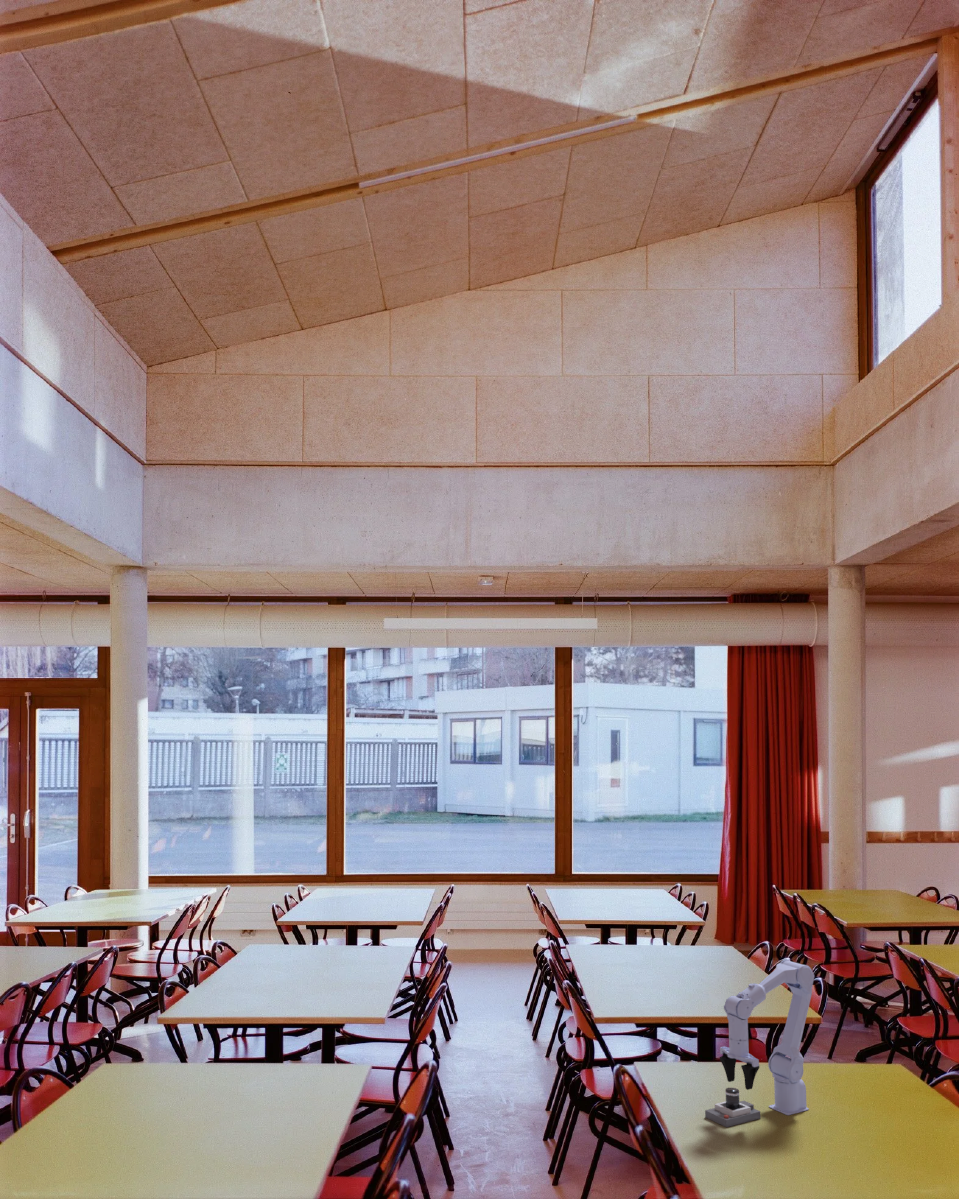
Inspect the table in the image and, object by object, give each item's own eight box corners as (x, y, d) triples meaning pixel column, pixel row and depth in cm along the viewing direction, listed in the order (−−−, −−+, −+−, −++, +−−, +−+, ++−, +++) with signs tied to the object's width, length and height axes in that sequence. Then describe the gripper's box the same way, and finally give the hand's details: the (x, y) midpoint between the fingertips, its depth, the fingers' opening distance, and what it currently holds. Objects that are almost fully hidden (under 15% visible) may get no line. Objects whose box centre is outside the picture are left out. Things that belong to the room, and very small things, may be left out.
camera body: (738, 1108, 315) (738, 1096, 315) (760, 1118, 307) (760, 1106, 307) (705, 1117, 308) (705, 1105, 308) (726, 1127, 300) (726, 1114, 300)
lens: (734, 1107, 310) (733, 1087, 311) (742, 1112, 306) (741, 1091, 307) (723, 1109, 309) (722, 1088, 310) (731, 1114, 305) (730, 1093, 306)
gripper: (712, 1034, 314) (713, 1080, 312) (746, 1046, 301) (747, 1094, 299) (729, 1030, 317) (730, 1076, 315) (763, 1043, 305) (764, 1090, 303)
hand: (739, 1085), depth 308 cm, fingers open, 7 cm apart
